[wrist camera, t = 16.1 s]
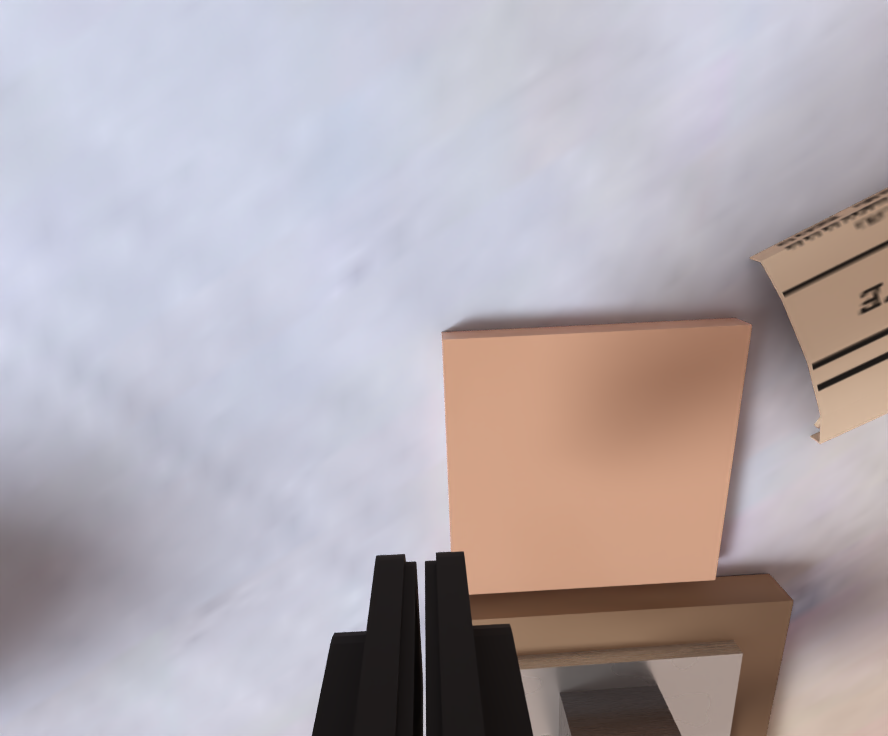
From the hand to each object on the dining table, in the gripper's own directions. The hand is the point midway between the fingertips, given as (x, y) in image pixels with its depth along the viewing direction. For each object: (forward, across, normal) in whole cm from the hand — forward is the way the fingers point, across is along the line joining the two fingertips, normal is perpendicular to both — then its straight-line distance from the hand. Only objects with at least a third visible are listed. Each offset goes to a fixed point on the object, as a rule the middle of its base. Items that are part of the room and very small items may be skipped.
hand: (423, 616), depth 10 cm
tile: (+6, -1, 0) cm, 6 cm away
